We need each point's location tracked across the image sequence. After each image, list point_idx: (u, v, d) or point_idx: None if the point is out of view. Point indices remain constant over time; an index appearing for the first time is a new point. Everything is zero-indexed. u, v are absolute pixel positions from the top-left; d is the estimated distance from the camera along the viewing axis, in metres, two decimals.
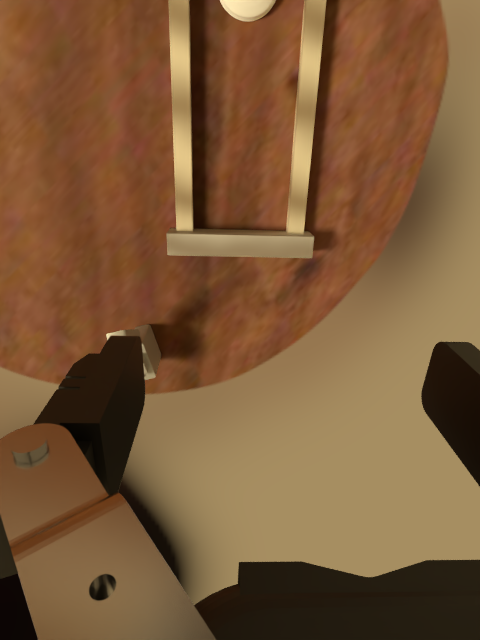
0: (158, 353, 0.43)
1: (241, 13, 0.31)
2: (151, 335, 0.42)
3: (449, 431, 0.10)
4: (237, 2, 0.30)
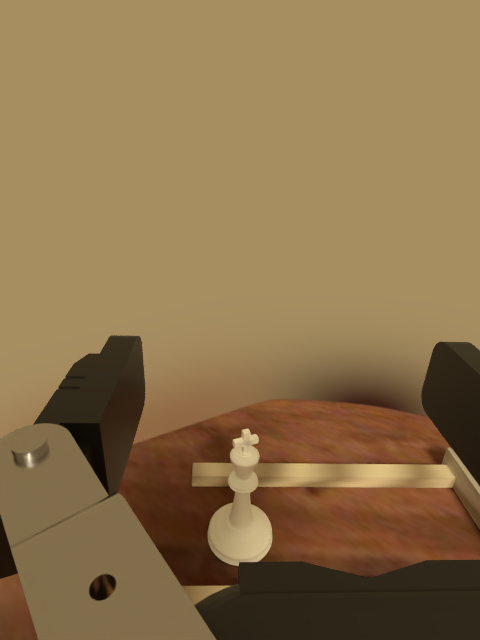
0: None
1: (269, 533, 0.29)
2: None
3: (449, 431, 0.10)
4: (261, 534, 0.29)
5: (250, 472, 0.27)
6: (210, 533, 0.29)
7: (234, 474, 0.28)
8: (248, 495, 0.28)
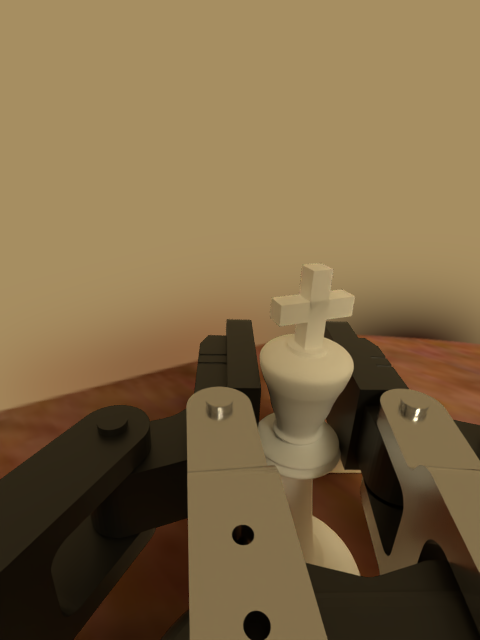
0: None
1: None
2: None
3: None
4: None
5: (325, 411, 0.08)
6: None
7: (270, 425, 0.10)
8: (310, 486, 0.10)
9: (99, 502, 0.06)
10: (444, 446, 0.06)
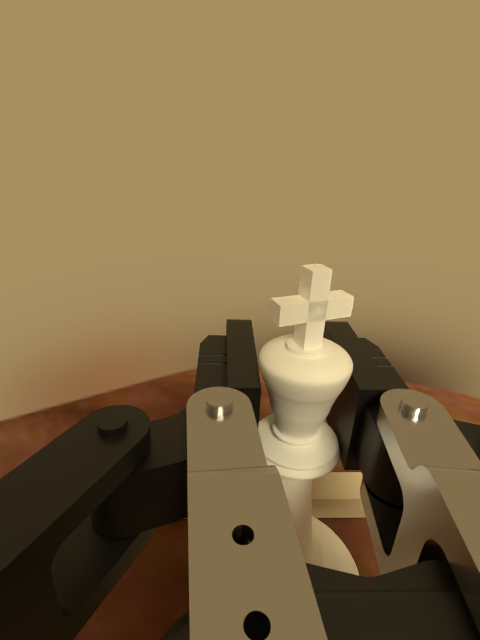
0: None
1: None
2: None
3: None
4: None
5: (324, 412, 0.08)
6: None
7: (269, 425, 0.10)
8: (309, 486, 0.10)
9: (99, 502, 0.06)
10: (444, 447, 0.06)
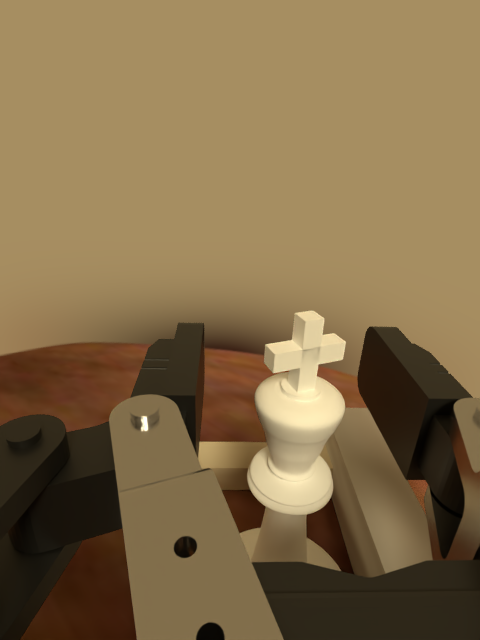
0: None
1: None
2: None
3: (375, 409, 0.11)
4: None
5: (317, 451, 0.09)
6: None
7: (265, 459, 0.10)
8: (304, 518, 0.10)
9: (17, 516, 0.05)
10: None
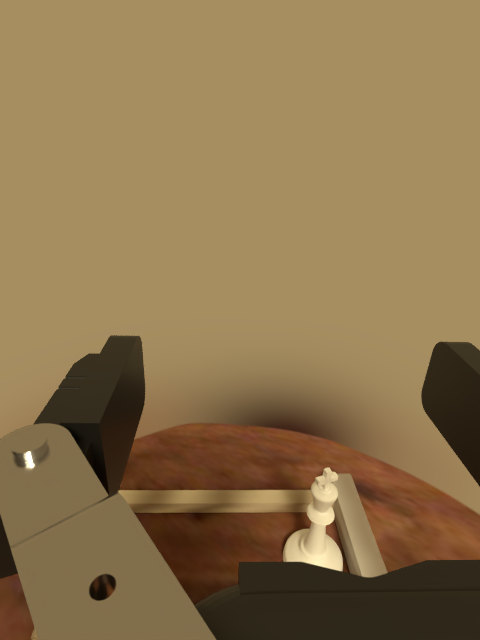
0: None
1: (340, 558, 0.32)
2: None
3: (449, 431, 0.10)
4: (334, 560, 0.32)
5: (330, 506, 0.29)
6: (287, 559, 0.32)
7: (312, 507, 0.31)
8: (325, 526, 0.31)
9: None
10: None
